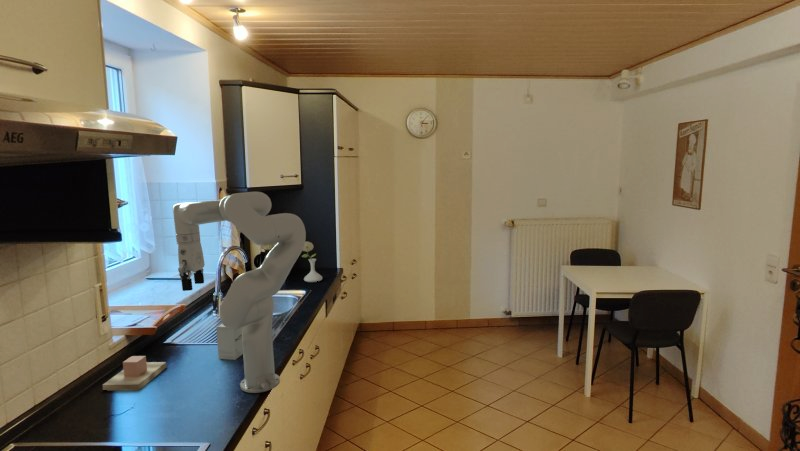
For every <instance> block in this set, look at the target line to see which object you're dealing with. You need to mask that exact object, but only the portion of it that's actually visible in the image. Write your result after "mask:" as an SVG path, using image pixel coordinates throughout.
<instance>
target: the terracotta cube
mask: <svg viewBox="0 0 800 451" xmlns="http://www.w3.org/2000/svg"><path fill="white" fill-rule="evenodd" d="M146 362H147V356H146V355H132V356H130V357H128V358H127V359H126V360H124V361H122V370H124V376H139V375H141V374H142V373H143V372H145V371H146V370H147V363H146Z"/></svg>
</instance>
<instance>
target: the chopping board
mask: <svg viewBox="0 0 800 451" xmlns="http://www.w3.org/2000/svg"><path fill="white" fill-rule="evenodd" d="M146 363H147V370H146V371H145V372H143V373H142V374H141V375H139V376H124V369H122V370H121V371H120V372H118V373H117V374H115V375H114V376H112V377H111V378H110V379H108V380H107V381H106V382H104V383H103V384H102V391H103V390H107V391H140V390H142V388H144V387H145V386H147V384H149V382H151V381H152V380H154V378H156V377H157V376H158V375H159V374H160V373H161V372H162V371H163V370H165V369H166V368H167V362H166V361H158V362H157V361H151V362H149V361H146Z"/></svg>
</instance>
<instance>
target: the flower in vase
mask: <svg viewBox="0 0 800 451" xmlns="http://www.w3.org/2000/svg"><path fill="white" fill-rule="evenodd" d="M313 249H314V244H313V243H312V242H310V241H306V240H305V245H304V247H303V250H302V252H306V253H304V254H303V255H301V257H302V258H308V259H307V260H308V261H309V262H308V263H310V271H309V273H307V275H305V276H304V278H303V280H304V282H307V283H317V281H318V282H320V281H322V280H323V276H322V275H321V274H320V273H318V272H317V271H316V268H315V265H316V261H317V258H313V257H315V256H316V255H317V253H314V254H312V255H311V256H310V255H309V252H310V251H312V250H313Z"/></svg>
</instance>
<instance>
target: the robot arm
mask: <svg viewBox="0 0 800 451" xmlns="http://www.w3.org/2000/svg"><path fill="white" fill-rule="evenodd" d="M271 209H272V201H271V198H270V197H269V196H268V194H266V193H264V192H262V191H248V192H246V191H245V192H237V193H232V194H231V195H226V196H224V197H223V198H222V199H216V200H215V199H214V200H204V201H197V202H179V203H176V204H173V207H172V212H173V213H172V214H173V222H174V223H173V224H174V230H175V240H176V245H178V246H177V252H178V253H177V255H178V266H179V267H178V268H177V271H178V273H179V276H180V280H181V288H182V291H183V292H185V291H186V292H187V291H193V282H192V278H191V276H192V275H191V274H192V273H193V278H194V279H193V281H194V284H195V285H199V284H200V285H201V284H204V283H205V278H204V267H205V258H204V252H203V248H202V242H201V233H200V225H204V224H205V225H206V224H211V223H212V224H213V223H218V222H225V221H227V222H230V223H231V224H232V225H233V226H234V227H235V228H236V229H238V230H239V231H240V233H242V234H243V235H244V237H246V238H247V239H248V240H249V241H251V242H252V243H253V244H255V245H257V246H262V247H263V246H264V247H265V246H266V247H267V246H269V245H274V244H275V245H274V246H273V247H272V248H271V249H269V252H267V254H266V256H265V258H264V260H263V262H262V263H261V265H260V266H258V267H257V268H256V269H251V270H249V271H245V272H243V273H241V274H239V275H238V276H237V277H235V278H234V280H233V281H232V283H231V285H230V287H229V289H228V290H227V293H226V295H225V297H224V299H223V300H222V303H221V305H220V309H219V318H220V322H221V324H223V325H224V326H225V327H227V328H229V329H238V328H241V327H243V330H242V347H243V354H242V357H243V359H242V360H243V371H244V372H243V373H244V378H243V379H242V380H241V381H240V382H239V386H240V390H241V391H243V392H245V393H249V394H258V393H265V392H268V391H270V390H274V389H275V388H277V387H278V386H279V384H280V382H281V377H280V376H279V374H277V373H275V369H276V368H275V356H274V342H273V341H274V340H273V317H274V315H273V314H274V305H275V304H274V299H273V296H275V295H276V294H277V293H279V292H280V290H281V288H282V287H283V285H284V283H285V281H286V280H287V279H288V278H287V277H288V276H289V275H290V273H291V270H292V268H293V267H294V265H295V263H296V262H297V260H298V258H299V256H300V255H301V254H302V252H303V251H302V250H303V247H304V245H305V242H306V237H307V236H306V235H307V232H306V227H305V224H304V222H303V220H302V219H301V218H300V217H299V216H298V215H296V214H294V213H287V212H283V213H276V214H275V213H274V214H269V213H270V211H271Z"/></svg>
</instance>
